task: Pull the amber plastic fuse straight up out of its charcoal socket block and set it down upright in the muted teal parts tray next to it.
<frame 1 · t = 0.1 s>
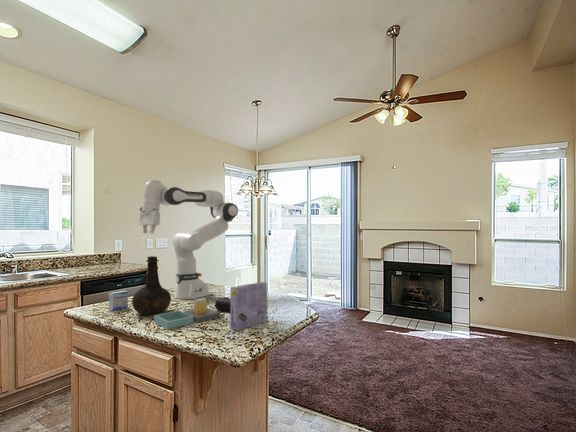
hand: (148, 233, 175), 39 cm above the counter, tool pointing down, fingers open, 8 cm apart
medicine box: (118, 308, 163), on the counter
cake pan box: (250, 325, 136), on the counter
socket block: (200, 317, 147), on the counter
dark brown vase: (151, 313, 155), on the counter
parts tray: (173, 323, 138), on the counter
end cap: (227, 312, 158), on the counter
fuse: (200, 316, 147), resting on socket block
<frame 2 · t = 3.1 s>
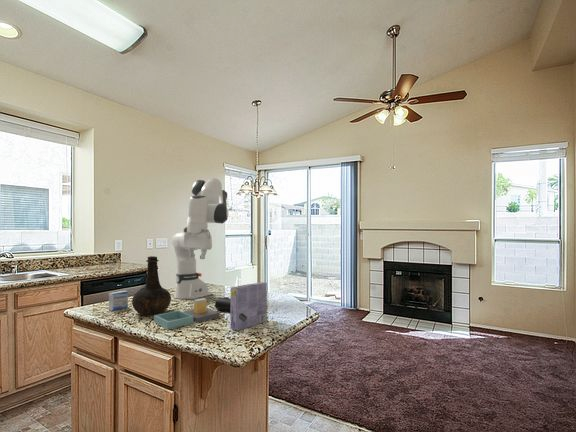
hand: (197, 258, 148), 28 cm above the counter, tool pointing down, fingers open, 8 cm apart
nothing on the counter moved.
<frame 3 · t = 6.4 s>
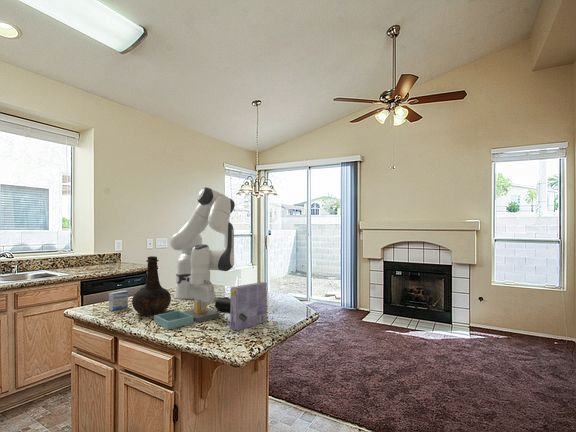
hand: (200, 308, 147), 4 cm above the counter, tool pointing down, fingers closed on fuse, 3 cm apart
fuse: (200, 316, 147), point 1 cm above the counter, touching gripper, socket block
everything else where it was.
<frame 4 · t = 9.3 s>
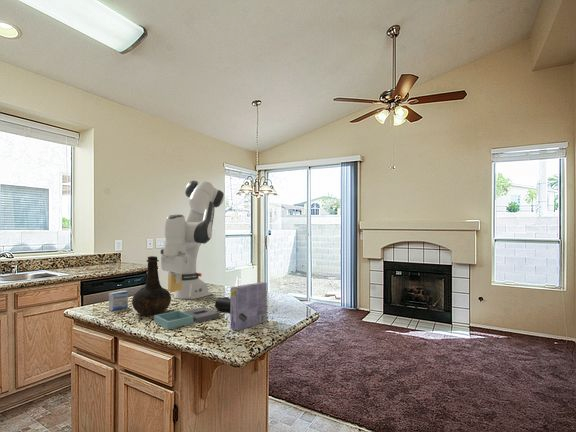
hand: (175, 282, 138), 18 cm above the counter, tool pointing down, fingers closed on fuse, 3 cm apart
fuse: (174, 290, 138), point 15 cm above the counter, touching gripper
everything else where it was.
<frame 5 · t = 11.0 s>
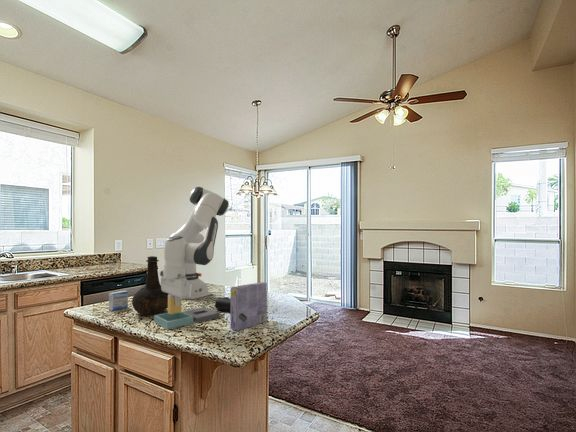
hand: (174, 304, 138), 8 cm above the counter, tool pointing down, fingers closed on fuse, 3 cm apart
fuse: (174, 312, 138), point 5 cm above the counter, touching gripper
everything else where it was.
when the fingers open (6 cm above the counter, at t = 12.2 s): fuse drops 2 cm, resting on parts tray.
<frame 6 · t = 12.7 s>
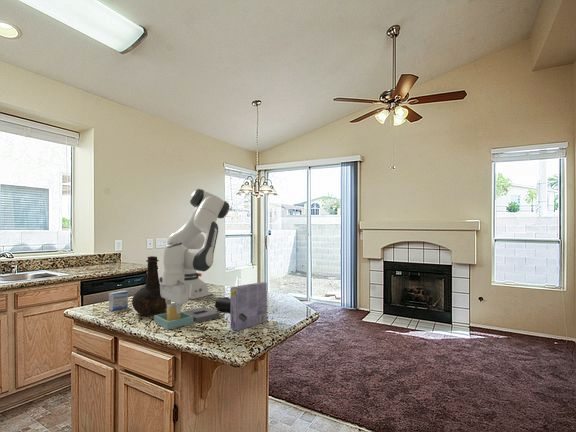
hand: (173, 310, 138), 6 cm above the counter, tool pointing down, fingers open, 7 cm apart
fuse: (173, 322, 138), point 1 cm above the counter, touching parts tray
everything else where it was.
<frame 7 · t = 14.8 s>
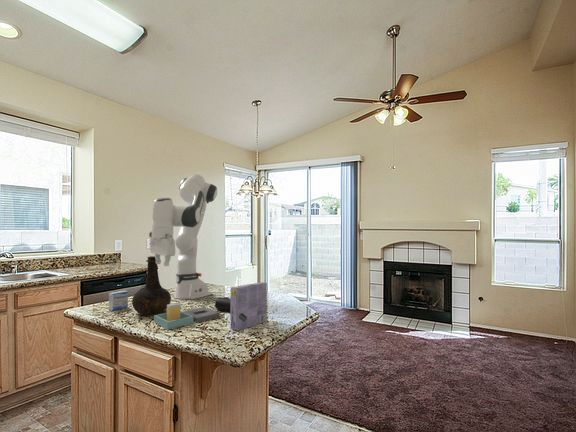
hand: (162, 264, 140), 26 cm above the counter, tool pointing down, fingers open, 8 cm apart
nothing on the counter moved.
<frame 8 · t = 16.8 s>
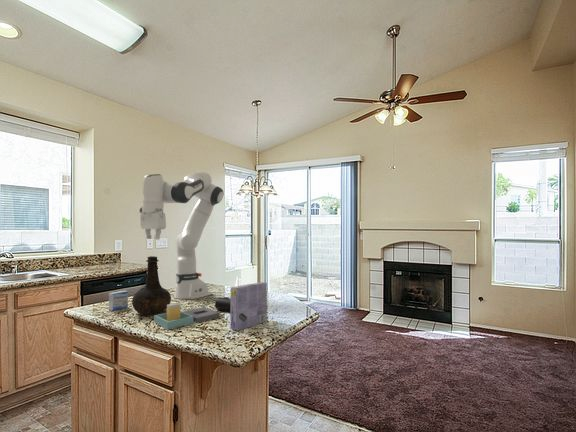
hand: (152, 239, 143), 37 cm above the counter, tool pointing down, fingers open, 8 cm apart
nothing on the counter moved.
at the end: fuse inside the target area on the parts tray (0.0 cm from its centre), point 0.6 cm above the parts tray's base; fuse tilted 0°; the gripper is holding nothing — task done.
